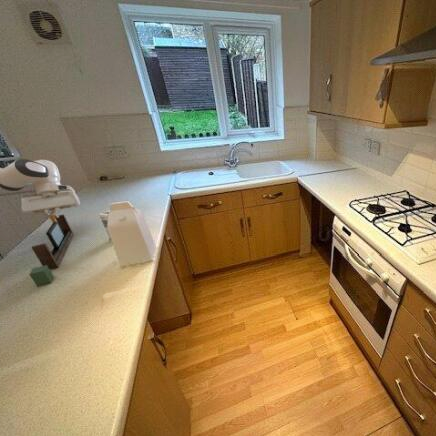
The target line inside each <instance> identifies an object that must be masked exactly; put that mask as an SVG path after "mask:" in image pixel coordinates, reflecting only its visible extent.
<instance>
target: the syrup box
mask: <svg viewBox="0 0 436 436" xmlns="http://www.w3.org/2000/svg"><path fill="white" fill-rule="evenodd" d="M109 212H110V209H108V210H105V211H103V212H101V213H99V217H100V220H101V222H102V225H103V228H104V230H105V233H106V235H107V237H108V240H109V241H110V242H112V241H111V238H110V235H109V232H108V228H107V223H108V217H109Z"/></svg>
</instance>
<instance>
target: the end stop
mask: <svg viewBox="0 0 436 436" xmlns="http://www.w3.org/2000/svg"><path fill="white" fill-rule="evenodd" d="M28 275H29V277H30V278H31V279H32V281H33V282H34V284H35V285H36V287H41V286H45V285H49V284H52V283H53V280H54V278H55V276H54V274H53V273H52V271H51V270H50V269H49V268H48V266H47V265H44V266H43V265H41V266H37V267H33V268H32V269H31V270H30V272H29V274H28Z"/></svg>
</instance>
